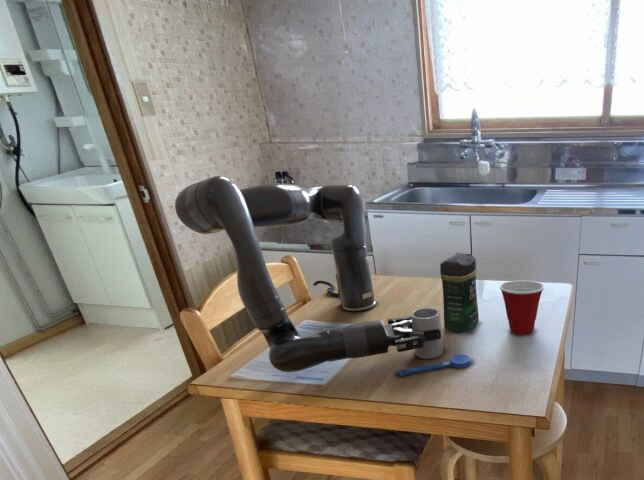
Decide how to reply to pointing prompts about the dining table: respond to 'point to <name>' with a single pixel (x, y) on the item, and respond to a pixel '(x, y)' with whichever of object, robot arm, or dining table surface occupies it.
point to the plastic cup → (521, 304)
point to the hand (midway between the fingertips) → (436, 327)
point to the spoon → (439, 365)
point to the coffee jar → (459, 293)
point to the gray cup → (424, 322)
